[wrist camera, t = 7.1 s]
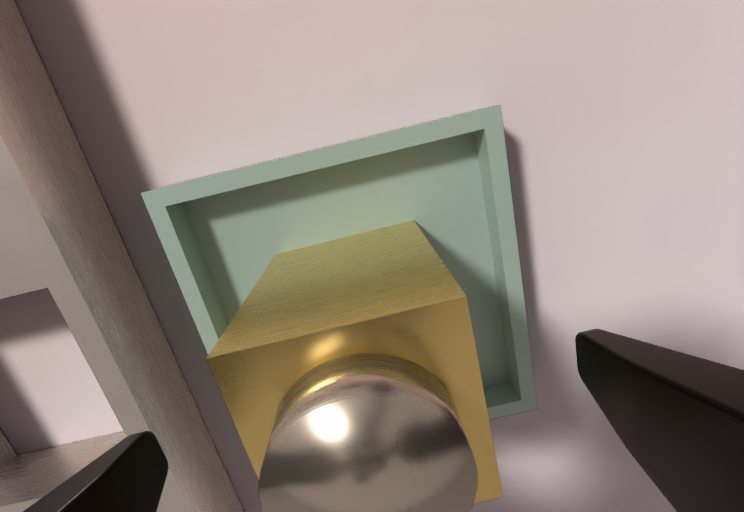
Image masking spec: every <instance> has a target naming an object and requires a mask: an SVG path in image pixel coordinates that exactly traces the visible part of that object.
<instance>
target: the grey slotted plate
mask: <svg viewBox="0 0 744 512" xmlns="http://www.w3.org/2000/svg"><path fill="white" fill-rule="evenodd" d="M44 288H48V289H49V291H50V293H51V295H52V297H53V298H54V300H55V302H56V304H57V306H58V308H59V310H60V312H61V313H62V315H63V317H64V319H65V321H66V323H67V325H68V327H69V329H70V330H71V332H72V334H73V336H74V338H75V340H76V342H77V344H78V345H79V347H80V349H81V351H82V353H83V355H84V357H85V359H86V361H87V362H88V364H89V366H90V368H91V370H92V372H93V374H94V376H95V377H96V379H97V381H98V383H99V385H100V387H101V389H102V391H103V392H104V394H105V396H106V398H107V400H108V402H109V404H110V406H111V408H112V409H113V411H114V413H115V415H116V417H117V419H118V421H119V423H120V424H121V426H122V428H123V430H124V432H119V433H115V434H111V435H106V436H102V437H97V438H93V439H89V440H84V441H80V442H75V443H71V444H67V445H62V446H58V447H53V448H49V449H45V450H40V451H36V452H31V453H27V454H23V455H18V456H17V455H16V453H15V452H14V450H13V448H12V447H11V445H10V444H9V442H8V441H7V439H6V438H5V436H4V435H3V433H2V432H1V430H0V512H23V511H24V510H26V509H27V508H28V507H30V506H31V505H33V504H34V503H35V502H37V501H38V500H39V499H41V498H42V497H44V496H45V495H46V494H48V493H49V492H51V491H52V490H53V489H55V488H56V487H58V486H59V485H60V484H62V483H63V482H65V481H66V480H67V479H69V478H70V477H71V476H73V475H74V474H76V473H77V472H78V471H80V470H81V469H83V468H84V467H85V466H87V465H88V464H90V463H91V462H92V461H94V460H95V459H96V458H98V457H99V456H101V455H102V454H103V453H105V452H106V451H108V450H109V449H110V448H112V447H113V446H115V445H116V444H117V443H119V442H120V441H122V440H123V439H124V438H126V437H127V436H129V435H131V434H135V433H140V432H144V431H151V432H152V433H154V434H155V436H156V438H157V440H158V442H159V444H160V446H161V448H162V450H163V452H164V454H165V456H166V458H167V460H168V474H167V477H166V481H165V484H164V488H163V491H162V495H161V498H160V502H159V505H158V508H157V512H244V511H243V508H242V506H241V504H240V502H239V499H238V497H237V495H236V493H235V491H234V488H233V486H232V484H231V482H230V479H229V477H228V475H227V473H226V471H225V468H224V466H223V464H222V462H221V459H220V457H219V455H218V453H217V451H216V448H215V446H214V444H213V442H212V439H211V437H210V435H209V433H208V430H207V428H206V426H205V424H204V422H203V419H202V417H201V415H200V413H199V410H198V408H197V406H196V404H195V402H194V399H193V397H192V395H191V393H190V390H189V388H188V386H187V384H186V382H185V379H184V377H183V375H182V373H181V370H180V368H179V366H178V364H177V361H176V359H175V357H174V355H173V353H172V350H171V348H170V346H169V344H168V341H167V339H166V337H165V335H164V333H163V330H162V328H161V326H160V324H159V321H158V319H157V317H156V315H155V312H154V310H153V308H152V306H151V304H150V301H149V299H148V297H147V295H146V292H145V290H144V288H143V286H142V284H141V281H140V279H139V277H138V275H137V272H136V270H135V268H134V266H133V264H132V261H131V259H130V257H129V255H128V252H127V250H126V248H125V246H124V243H123V241H122V239H121V237H120V235H119V232H118V230H117V228H116V226H115V223H114V221H113V219H112V217H111V215H110V212H109V210H108V208H107V206H106V203H105V201H104V199H103V197H102V194H101V192H100V190H99V188H98V186H97V183H96V181H95V179H94V177H93V174H92V172H91V170H90V168H89V166H88V163H87V161H86V159H85V157H84V154H83V152H82V150H81V148H80V146H79V143H78V141H77V139H76V137H75V134H74V132H73V130H72V128H71V125H70V123H69V121H68V119H67V117H66V114H65V112H64V110H63V108H62V105H61V103H60V101H59V99H58V97H57V94H56V92H55V90H54V88H53V85H52V83H51V81H50V79H49V77H48V74H47V72H46V70H45V68H44V65H43V63H42V61H41V59H40V56H39V54H38V52H37V50H36V48H35V45H34V43H33V41H32V39H31V36H30V34H29V32H28V30H27V28H26V25H25V23H24V21H23V19H22V16H21V14H20V12H19V10H18V7H17V5H16V3H15V1H14V0H0V299H2V298H7V297H11V296H15V295H19V294H23V293H27V292H32V291H36V290H40V289H44Z"/></svg>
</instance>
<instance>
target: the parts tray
mask: <svg viewBox="0 0 744 512" xmlns="http://www.w3.org/2000/svg"><path fill="white" fill-rule="evenodd" d="M141 195H142V198H143V200H144V203H145V205H146V207H147V210H148V212H149V215H150V217H151V219H152V222H153V224H154V227H155V229H156V231H157V234H158V236H159V239H160V241H161V243H162V246H163V248H164V251H165V253H166V255H167V258H168V260H169V263H170V265H171V267H172V270H173V272H174V274H175V277H176V279H177V282H178V284H179V286H180V289H181V291H182V294H183V296H184V298H185V301H186V303H187V306H188V308H189V310H190V313H191V315H192V318H193V320H194V322H195V325H196V327H197V330H198V332H199V334H200V337H201V339H202V342H203V344H204V346H205V349H206V351H207V354H208V355H209V354H210V352H211V351H212V349H213V348H214V346H215V345H216V343H217V342H218V340H219V339H220V337H221V336H222V334H223V333H224V331H225V329H226V328H227V326H228V325H229V323H230V322H231V320H232V319H233V317H234V316H235V314H236V313H237V311H238V310H239V308H240V307H241V305H242V304H243V302H244V301H245V299H246V298H247V296H248V295H249V293H250V292H251V290H252V289H253V287H254V286H255V284H256V283H257V281H258V280H259V278H260V277H261V275H262V274H263V272H264V271H265V269H266V268H267V266H268V265H269V263H270V262H271V260H272V259H273V257H274V256H275V254H278V253H282V252H287V251H291V250H295V249H299V248H303V247H307V246H311V245H315V244H319V243H323V242H327V241H331V240H335V239H339V238H343V237H347V236H351V235H355V234H360V233H364V232H368V231H372V230H376V229H380V228H384V227H388V226H392V225H396V224H400V223H404V222H408V221H412V220H414V221H415V223H416V224H417V226H418V227H419V229H420V230H421V231H422V233H423V234H424V236H425V237H426V239H427V240H428V242H429V243H430V244H431V246H432V247H433V249H434V250H435V252H436V253H437V254H438V256H439V257H440V259H441V260H442V262H443V263H444V265H445V266H446V267H447V269H448V270H449V272H450V273H451V275H452V276H453V278H454V279H455V280H456V282H457V283H458V285H459V286H460V288H461V289H462V290H463V292H464V293H465V295H466V296H467V302H468V307H469V313H470V318H471V324H472V329H473V335H474V340H475V346H476V351H477V357H478V362H479V368H480V373H481V379H482V384H483V390H484V395H485V401H486V406H487V412H488V417H489V420H490V419H495V418H499V417H504V416H508V415H513V414H517V413H522V412H526V411H531V410H535V409H538V408H537V399H536V391H535V383H534V375H533V367H532V358H531V350H530V342H529V334H528V326H527V317H526V309H525V301H524V293H523V284H522V276H521V268H520V260H519V252H518V243H517V235H516V227H515V219H514V211H513V202H512V194H511V186H510V178H509V170H508V161H507V153H506V145H505V137H504V129H503V120H502V112H501V105H498V106H493V107H488V108H483V109H479V110H475V111H471V112H467V113H463V114H458V115H454V116H450V117H446V118H442V119H438V120H434V121H430V122H426V123H422V124H418V125H414V126H409V127H405V128H401V129H397V130H393V131H389V132H385V133H381V134H377V135H373V136H369V137H365V138H360V139H356V140H352V141H348V142H344V143H340V144H336V145H332V146H328V147H324V148H320V149H316V150H311V151H307V152H303V153H299V154H295V155H291V156H287V157H283V158H279V159H275V160H271V161H267V162H262V163H258V164H254V165H250V166H246V167H242V168H238V169H234V170H230V171H226V172H222V173H218V174H213V175H209V176H205V177H201V178H197V179H193V180H189V181H185V182H181V183H177V184H173V185H169V186H165V187H161V188H157V189H154V190H150V191H146V192H143V193H141Z"/></svg>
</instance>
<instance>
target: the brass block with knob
mask: <svg viewBox="0 0 744 512" xmlns="http://www.w3.org/2000/svg"><path fill="white" fill-rule="evenodd" d="M206 359H207V362H208V364H209V366H210V369H211V371H212V373H213V376H214V378H215V380H216V383H217V385H218V387H219V390H220V392H221V394H222V397H223V399H224V401H225V403H226V406H227V408H228V410H229V413H230V415H231V417H232V420H233V422H234V424H235V427H236V429H237V431H238V434H239V436H240V438H241V441H242V443H243V445H244V448H245V450H246V452H247V455H248V457H249V459H250V461H251V464H252V466H253V468H254V471H255V473H256V475H257V478H258V480H259V498H260V504H261V507H262V510H263V512H470V511H471V509H472V506H473V504H474V503H477V502H482V501H486V500H491V499H495V498H500V497H503V495H502V489H501V484H500V478H499V473H498V467H497V462H496V456H495V450H494V445H493V439H492V434H491V428H490V423H489V417H488V412H487V406H486V401H485V395H484V390H483V384H482V379H481V373H480V368H479V362H478V357H477V351H476V346H475V340H474V335H473V329H472V324H471V318H470V313H469V307H468V302H467V296H466V295H465V293H464V292H463V290H462V289H461V288H460V286H459V285H458V283H457V282H456V280H455V279H454V278H453V276H452V275H451V273H450V272H449V270H448V269H447V267H446V266H445V265H444V263H443V262H442V260H441V259H440V257H439V256H438V254H437V253H436V252H435V250H434V249H433V247H432V246H431V244H430V243H429V242H428V240H427V239H426V237H425V236H424V234H423V233H422V231H421V230H420V229H419V227H418V226H417V224H416V223H415V221H414V220H412V221H408V222H404V223H400V224H396V225H392V226H388V227H384V228H380V229H376V230H372V231H368V232H364V233H360V234H355V235H351V236H347V237H343V238H339V239H335V240H331V241H327V242H323V243H319V244H315V245H311V246H307V247H303V248H299V249H295V250H291V251H287V252H282V253H278V254H275V256H274V257H273V259H272V260H271V262H270V263H269V265H268V266H267V268H266V269H265V271H264V272H263V274H262V275H261V277H260V278H259V280H258V281H257V283H256V284H255V286H254V287H253V289H252V290H251V292H250V293H249V295H248V296H247V298H246V299H245V301H244V302H243V304H242V305H241V307H240V308H239V310H238V311H237V313H236V314H235V316H234V317H233V319H232V320H231V322H230V323H229V325H228V326H227V328H226V329H225V331H224V333H223V334H222V336H221V337H220V339H219V340H218V342H217V343H216V345H215V346H214V348H213V349H212V351H211V352H210V354H209V355H208V357H207V358H206Z"/></svg>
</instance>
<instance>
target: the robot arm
mask: <svg viewBox="0 0 744 512" xmlns="http://www.w3.org/2000/svg"><path fill="white" fill-rule="evenodd" d="M575 342H576V354H577V366H578V371H579V374H580V377H581V379H582V380H583V382H584V384H585V385H586V387H587V388H588V390H589V391H590V393H591V394H592V396H593V397H594V399H595V401H596V402H597V404H598V405H599V407H600V408H601V410H602V411H603V413H604V415H605V416H606V418H607V419H608V421H609V422H610V424H611V425H612V427H613V428H614V430H615V432H616V433H617V435H618V436H619V438H620V439H621V441H622V442H623V443H624V445H625V446H626V448H627V449H628V450H629V452H630V453H631V454H632V456H633V457H634V458H635V460H636V461H637V462H638V463H639V465H640V466H641V467H642V468H643V470H644V471H645V472H646V473H647V475H648V476H649V477H650V478H651V480H652V481H653V482H654V483H655V485H656V486H657V487H658V488H659V490H660V491H661V492H662V493H663V495H664V496H665V497H666V498H667V500H668V501H669V502H670V503H671V505H672V506H673V507H674V509H675V510H676V511H677V512H744V370H741V369H738V368H734V367H731V366H727V365H724V364H720V363H716V362H713V361H709V360H706V359H702V358H699V357H695V356H692V355H688V354H685V353H681V352H678V351H674V350H671V349H667V348H664V347H660V346H657V345H653V344H650V343H646V342H642V341H639V340H635V339H632V338H628V337H625V336H621V335H618V334H614V333H611V332H607V331H604V330H600V329H593V330H588V331H584V332H580V333H578V334H577V335H576V339H575ZM167 474H168V460H167V458H166V456H165V454H164V452H163V450H162V448H161V446H160V444H159V442H158V440H157V438H156V436H155V434H154V433H152V432H151V431H144V432H140V433H135V434H131V435H129V436H127V437H126V438H124V439H123V440H122V441H120V442H119V443H117V444H116V445H115V446H113V447H112V448H110V449H109V450H108V451H106V452H105V453H103V454H102V455H101V456H99V457H98V458H96V459H95V460H94V461H92V462H91V463H90V464H88V465H87V466H85V467H84V468H83V469H81V470H80V471H78V472H77V473H76V474H74V475H73V476H71V477H70V478H69V479H67V480H66V481H65V482H63V483H62V484H60V485H59V486H58V487H56V488H55V489H53V490H52V491H51V492H49V493H48V494H46V495H45V496H44V497H42V498H41V499H39V500H38V501H37V502H35V503H34V504H33V505H31V506H30V507H28V508H27V509H26V510H24V511H23V512H157V508H158V505H159V502H160V498H161V495H162V491H163V488H164V484H165V481H166V477H167Z"/></svg>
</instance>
